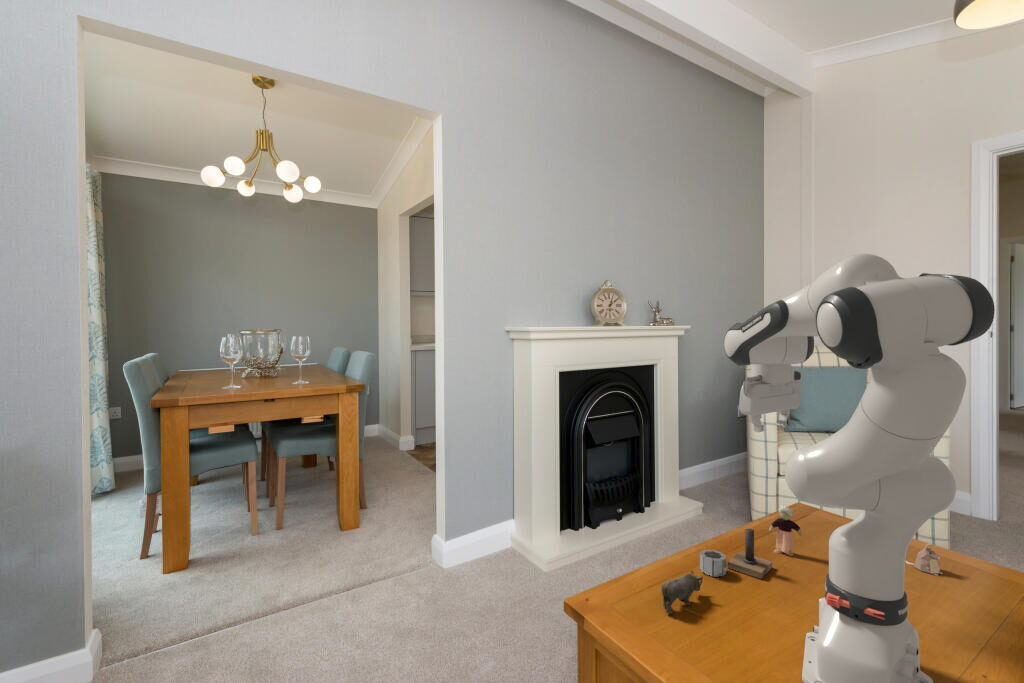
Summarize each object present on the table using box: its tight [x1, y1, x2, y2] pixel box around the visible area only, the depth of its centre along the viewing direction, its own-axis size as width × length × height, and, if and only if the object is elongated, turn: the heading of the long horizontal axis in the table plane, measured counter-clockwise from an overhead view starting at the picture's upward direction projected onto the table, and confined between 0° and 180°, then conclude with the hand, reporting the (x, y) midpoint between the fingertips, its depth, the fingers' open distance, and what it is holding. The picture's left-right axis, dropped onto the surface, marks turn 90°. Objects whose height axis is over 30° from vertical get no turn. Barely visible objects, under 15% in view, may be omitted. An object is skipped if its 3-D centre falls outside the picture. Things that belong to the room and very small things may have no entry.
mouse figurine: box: [905, 542, 943, 576], centre depth 121 cm, size 5×8×7 cm, turn 21°
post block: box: [726, 528, 773, 580], centre depth 122 cm, size 8×8×10 cm
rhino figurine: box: [661, 570, 704, 615], centre depth 107 cm, size 4×14×6 cm, turn 123°
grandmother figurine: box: [768, 505, 803, 557], centre depth 129 cm, size 8×4×13 cm, turn 73°
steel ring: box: [699, 549, 727, 578], centre depth 120 cm, size 6×6×4 cm
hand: (770, 429), depth 121 cm, fingers open, 8 cm apart
